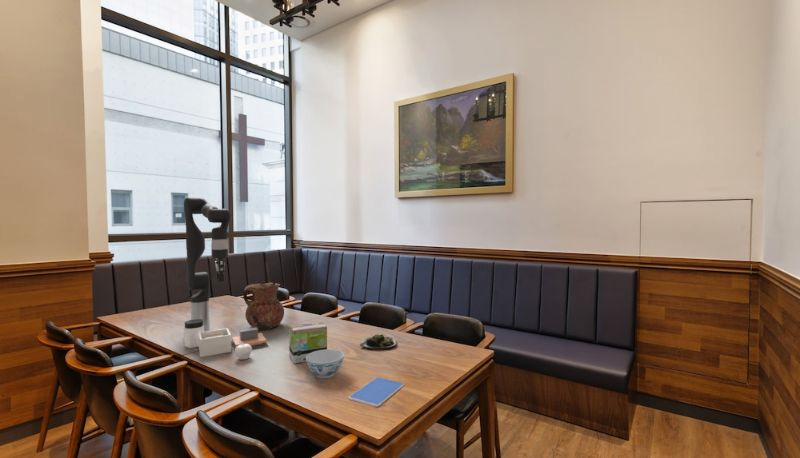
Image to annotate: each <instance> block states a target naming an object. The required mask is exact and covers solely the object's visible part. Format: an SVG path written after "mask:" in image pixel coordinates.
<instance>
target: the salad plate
mask: <svg viewBox="0 0 800 458" xmlns="http://www.w3.org/2000/svg"><path fill="white" fill-rule="evenodd" d="M396 346H397V341H396V339H395V338H394V337H392V336H384V334H382V333H381V334H379V333H377V334H374V335H373V336H371V337H366V338H364V339H363V341H362V342H361V343H360V344H359V347H362V348H364V349H365V350H368V351H385V350H387V351H388V350H392V349H394V348H395V347H396Z"/></svg>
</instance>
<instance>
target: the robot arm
mask: <svg viewBox="0 0 800 458" xmlns="http://www.w3.org/2000/svg"><path fill="white" fill-rule="evenodd" d="M183 214H184V220H185V241H186V242H185V247H186V248H185V251H186V286H187V289H188V290H189V291H194V290H195V291H196V290H199V291H198V292H197V293H195V294H193V295H192V296H191V297H190V298H189V301H190V302H189V303H190V320H194V319H201V320H203V325H204V332H205V331H211V329H210V327H211V326H210V286H211V285H210V283H211V282H210V275H209V273H208V272H206V271H200V272H196V267H197V263H198V262H199V260H200V258H201V257H202V256H203V254H204V252H205V250H206V240H205V235H204V234H203V232H202V231H201V229H200V228H199V227H198V225H197V224H196V222H195V219H194V215H201V214H202V216H203V217H205V218H206V219H207V220H208V222H209V223H213V224H217V223H219V224H220V225H219V226H216V227H213V228H211V246H210V247H211V258H212V259H215V261H214V263H215V270H216V279H217V280H218V282H225V281H224V280H225V276H224V275H225V271H226V270H225V269H226V268H225V265H226V264H225V260H224V259H226V258H228V257H229V247H228V246H229V245H228V244H229V243H228V228H229V224H230V220H231V212H230V210H229V209H228V208H218V207H216V206H215V205H212V204H211V203H210V202H209V201H208V200H206V199H205V198H202V197H189V196H188V197H185V199H184V200H183Z"/></svg>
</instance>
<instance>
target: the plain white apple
mask: <svg viewBox="0 0 800 458" xmlns="http://www.w3.org/2000/svg"><path fill="white" fill-rule="evenodd" d="M241 342H242V341H241ZM252 351H253V349H252V347H251V346H250V345H249V344H244V343H243V342H242V345H239V346H237V347H236V348H235V350H234V353H235V356H236V358H237V360H241V361H243V360H247V359H249V358H250V357H251V354H252Z"/></svg>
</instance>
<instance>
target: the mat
mask: <svg viewBox="0 0 800 458" xmlns="http://www.w3.org/2000/svg"><path fill="white" fill-rule="evenodd" d="M231 347H232V348H233V349H234V351H235V348H236V347H235V345H234V343H233V340H231ZM251 347H252V350H255V349H262V348H268V347H269V344H268V343H267V341H266V342H265V343H262V344H261V345H255V346H251Z"/></svg>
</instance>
